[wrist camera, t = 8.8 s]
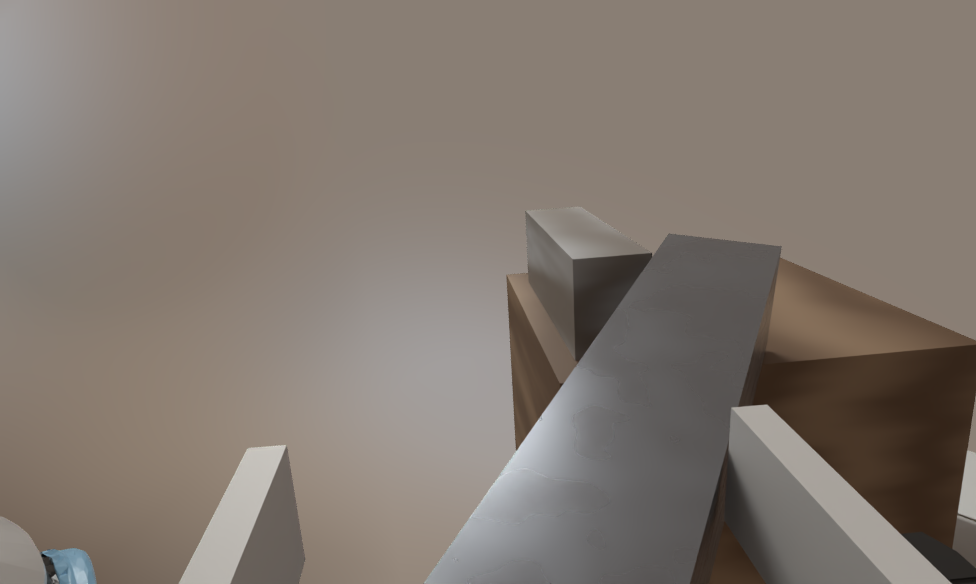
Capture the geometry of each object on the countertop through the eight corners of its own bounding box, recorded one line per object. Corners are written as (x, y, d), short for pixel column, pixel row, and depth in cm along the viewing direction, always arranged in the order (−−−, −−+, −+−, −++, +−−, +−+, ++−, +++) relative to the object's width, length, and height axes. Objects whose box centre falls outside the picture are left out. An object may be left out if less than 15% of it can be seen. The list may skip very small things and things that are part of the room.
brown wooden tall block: (579, 963, 32) (556, 274, 23) (528, 684, 47) (502, 206, 38) (897, 913, 33) (999, 238, 24) (747, 657, 48) (773, 186, 39)
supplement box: (975, 746, 41) (1013, 536, 37) (829, 658, 48) (847, 473, 44) (1024, 667, 46) (1062, 476, 42) (886, 598, 53) (906, 428, 49)
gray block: (186, 1205, 8) (86, 1065, 6) (662, 326, 27) (668, 233, 26) (484, 1516, 6) (457, 1439, 5) (766, 344, 26) (781, 246, 24)
